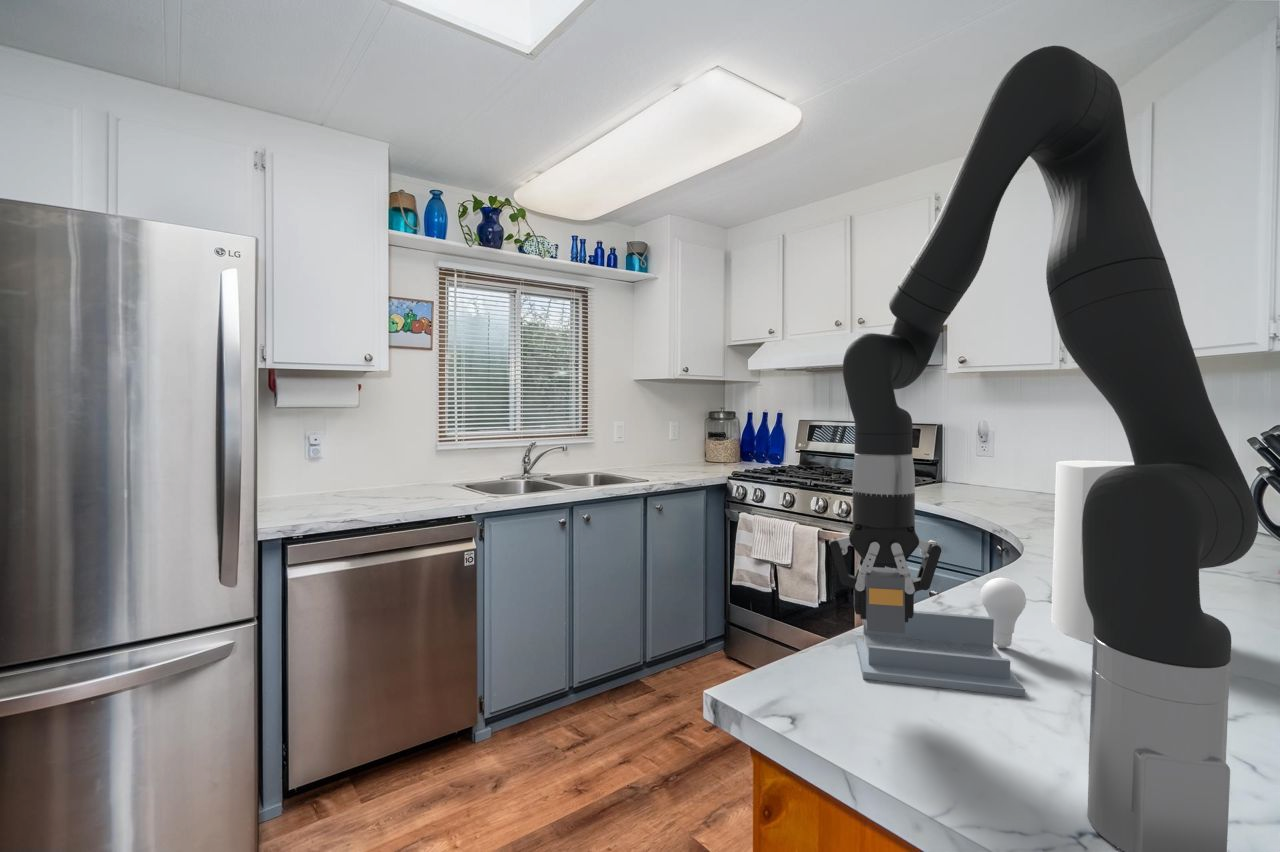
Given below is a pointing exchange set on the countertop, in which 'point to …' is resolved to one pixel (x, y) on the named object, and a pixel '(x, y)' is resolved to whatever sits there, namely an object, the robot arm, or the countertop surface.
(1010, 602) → the lightbulb
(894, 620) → the block
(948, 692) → the countertop surface
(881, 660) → the grey stepped stand
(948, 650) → the plate
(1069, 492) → the cylinder
